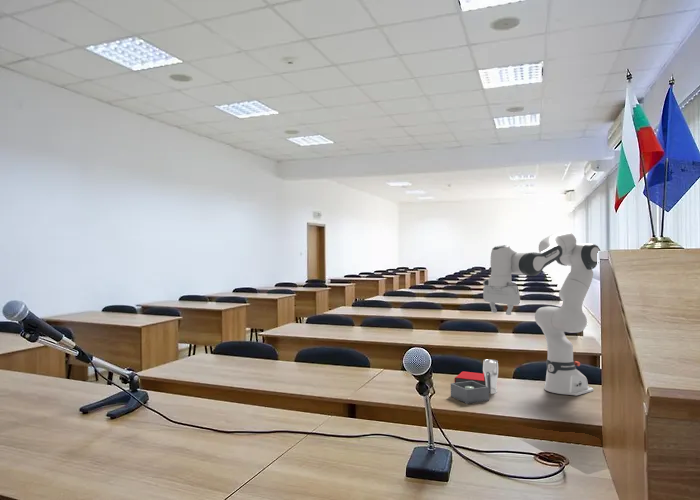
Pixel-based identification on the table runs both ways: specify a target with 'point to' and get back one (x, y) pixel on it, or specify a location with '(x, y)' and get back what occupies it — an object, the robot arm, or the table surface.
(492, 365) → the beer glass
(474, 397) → the bin
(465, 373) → the red device housing
